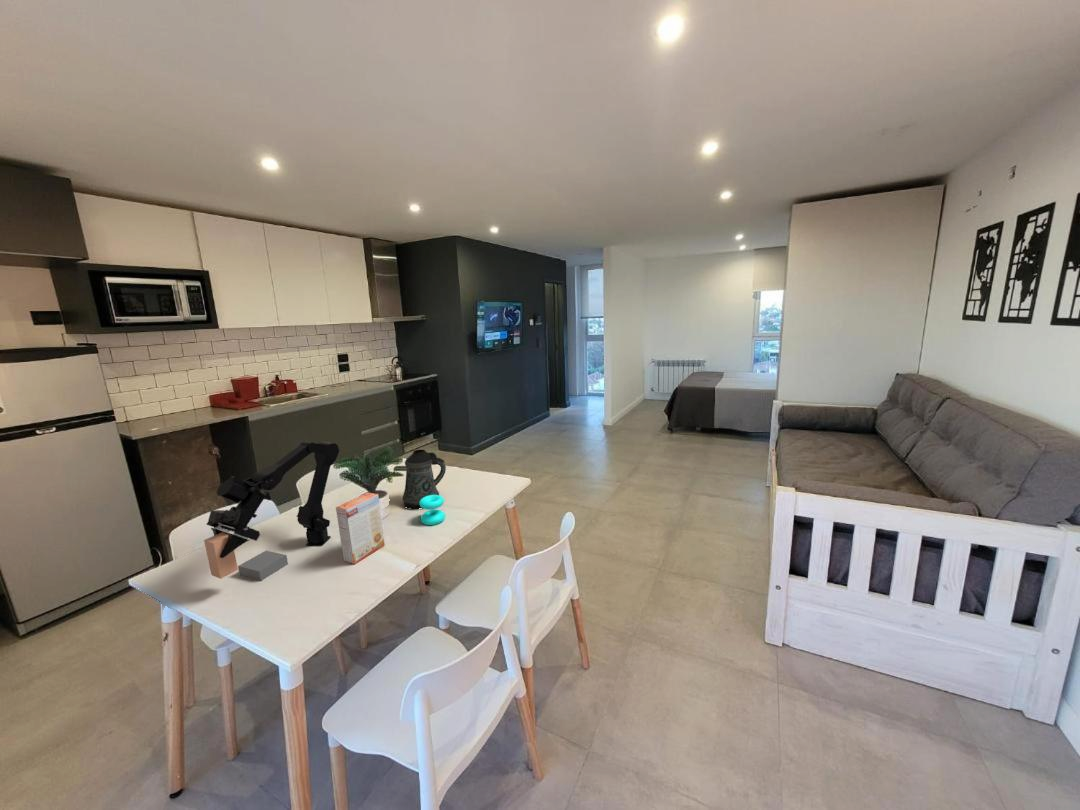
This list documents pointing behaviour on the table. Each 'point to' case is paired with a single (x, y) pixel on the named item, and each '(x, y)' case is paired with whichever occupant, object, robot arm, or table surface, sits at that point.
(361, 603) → the table surface
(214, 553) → the terracotta block
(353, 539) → the cracker box
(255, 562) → the charcoal box
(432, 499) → the donuts
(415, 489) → the beer stein
